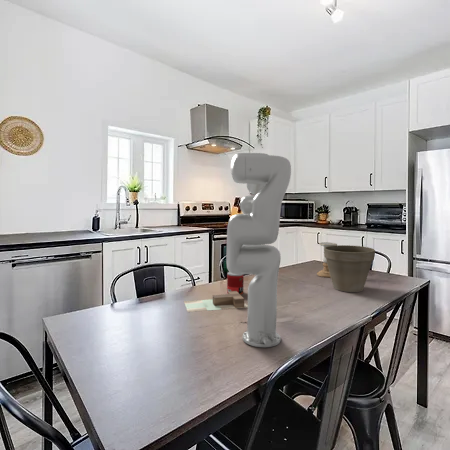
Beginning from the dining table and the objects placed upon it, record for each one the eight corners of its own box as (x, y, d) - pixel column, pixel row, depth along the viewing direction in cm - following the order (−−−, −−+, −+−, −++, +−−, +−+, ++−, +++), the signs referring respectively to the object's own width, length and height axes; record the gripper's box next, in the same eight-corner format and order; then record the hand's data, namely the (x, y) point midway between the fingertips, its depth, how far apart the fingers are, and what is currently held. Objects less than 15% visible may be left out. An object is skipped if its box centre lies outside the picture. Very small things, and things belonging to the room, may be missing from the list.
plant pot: (324, 293, 159) (325, 250, 157) (321, 281, 183) (322, 244, 181) (378, 297, 153) (380, 252, 151) (368, 284, 177) (369, 245, 175)
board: (249, 310, 134) (249, 307, 134) (187, 314, 128) (187, 312, 127) (239, 299, 147) (239, 297, 147) (183, 303, 141) (183, 301, 141)
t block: (244, 306, 134) (244, 298, 134) (216, 308, 131) (216, 300, 131) (236, 298, 146) (236, 290, 146) (210, 300, 143) (210, 292, 143)
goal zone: (221, 312, 131) (221, 309, 131) (187, 314, 128) (187, 312, 127) (214, 301, 144) (214, 299, 144) (183, 303, 141) (183, 301, 141)
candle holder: (312, 274, 201) (313, 242, 200) (329, 272, 205) (330, 241, 203) (324, 278, 190) (325, 245, 188) (341, 277, 193) (343, 244, 192)
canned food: (242, 297, 151) (242, 275, 150) (225, 296, 152) (225, 274, 151) (244, 293, 158) (244, 271, 157) (228, 292, 160) (228, 270, 159)
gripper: (266, 226, 132) (265, 270, 133) (254, 223, 147) (253, 262, 149) (249, 226, 130) (248, 270, 131) (238, 223, 145) (238, 263, 147)
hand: (251, 266), depth 140 cm, fingers closed
